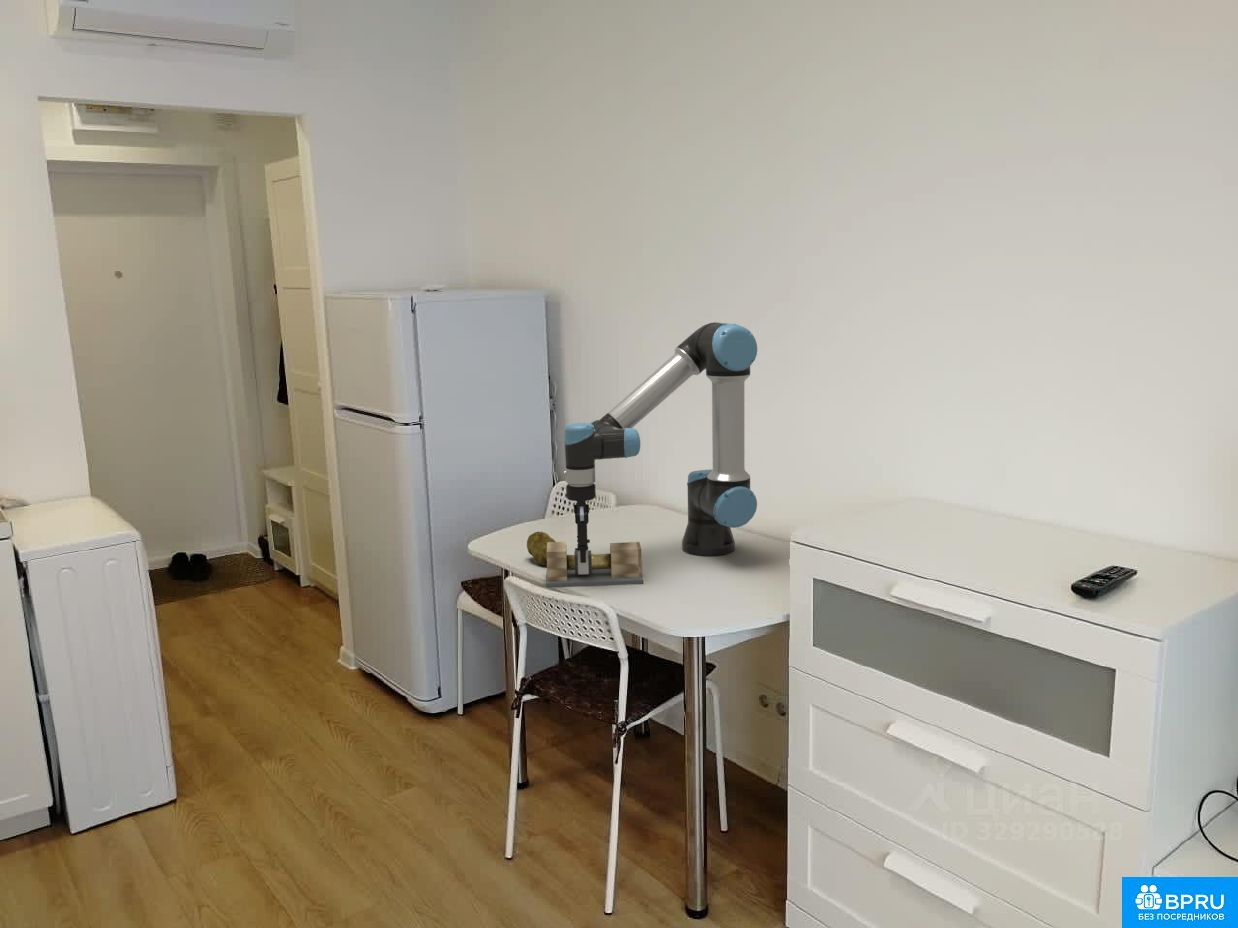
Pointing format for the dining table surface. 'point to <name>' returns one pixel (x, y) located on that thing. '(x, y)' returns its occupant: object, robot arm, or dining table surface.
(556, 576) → the socket
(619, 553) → the sleeve
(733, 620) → the dining table surface
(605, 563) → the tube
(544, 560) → the potato
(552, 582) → the board
